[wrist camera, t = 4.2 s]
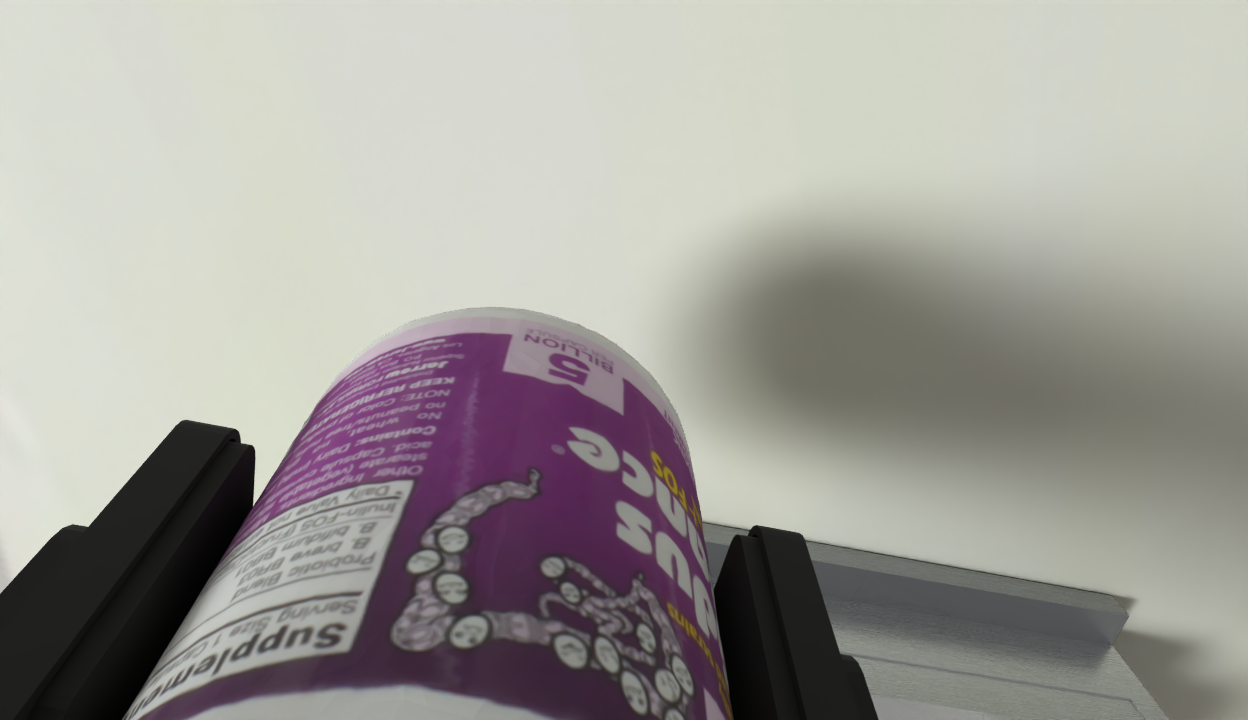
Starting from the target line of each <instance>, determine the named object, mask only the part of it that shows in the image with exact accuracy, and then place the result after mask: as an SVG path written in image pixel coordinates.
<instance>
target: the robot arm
mask: <svg viewBox="0 0 1248 720" xmlns="http://www.w3.org/2000/svg"><path fill="white" fill-rule="evenodd" d="M254 475H255V449H254V447H253V446H252V445H247V444H242V443H241V439H240V434H239V431H237V430H236V429H233V428H227V427H222V426H217V425H211V424H206V423H200V422H195V421H189V420H183V421H181V422H180V423H179V424H177V425H176V426H175V427H174V429H173V430H172V431H171V432H170V433H169V434H168V436H167V437H166V438H165V439H164V440H163V441H162V442H161V444H160V445H159V446H158V447H157V448H156V449H155V451H154V452H153V453H152V454H151V455H150V456H149V457H148V459H147V460H146V461H145V462H144V463H143V464H142V466H141V467H140V468H139V469H138V470H137V471H136V473H135V474H134V475H133V476H132V477H131V478H130V479H129V481H128V482H127V483H126V484H125V485H124V486H123V488H122V489H121V490H120V491H119V492H118V493H117V494H116V496H115V497H114V498H113V499H112V500H111V501H110V503H109V504H108V505H107V506H106V507H105V508H104V509H103V511H102V512H101V513H100V514H99V515H98V516H97V518H96V519H95V520H94V521H93V522H92V523H91V525H90V526H89V527H85V526H79V525H73V524H72V525H70V526H67V527H65V528H62V529H61V530H60V531H59V532H58V533H56V534H55V535H54V536H53V537H52V538H51V539H50V540H49V541H48V542H47V543H46V544H45V545H44V546H43V548H42V549H41V550H40V551H39V552H38V553H37V554H36V555H35V556H34V557H33V559H32V560H31V561H30V562H29V563H28V564H27V565H26V566H25V567H24V568H23V570H22V571H21V572H20V573H19V574H18V575H17V576H16V577H15V578H14V579H13V581H12V582H11V583H10V584H9V585H8V586H7V587H6V588H5V589H4V590H3V592H2V593H1V594H0V720H122V719H123V717H124V716H125V714H126V712H127V711H128V709H129V708H130V706H131V705H132V703H133V701H134V700H135V698H136V697H137V695H138V693H139V692H140V690H141V688H142V687H143V685H144V684H145V682H146V680H147V679H148V677H149V676H150V674H151V672H152V671H153V669H154V667H155V666H156V664H157V663H158V661H159V659H160V658H161V656H162V655H163V653H164V651H165V650H166V648H167V647H168V645H169V643H170V642H171V640H172V639H173V637H174V635H175V634H176V632H177V630H178V629H179V627H180V625H181V624H182V622H183V620H184V619H185V617H186V615H187V614H188V612H189V611H190V609H191V607H192V606H193V604H194V602H195V601H196V599H197V597H198V596H199V594H200V592H201V591H202V589H203V587H204V586H205V584H206V583H207V581H208V579H209V578H210V576H211V575H212V573H213V571H214V570H215V568H216V567H217V565H218V563H219V562H220V560H221V559H222V557H223V555H224V554H225V552H226V550H227V549H228V547H229V545H230V544H231V542H232V540H233V539H234V537H235V535H236V534H237V532H238V531H239V529H240V527H241V526H242V524H243V522H244V521H245V519H246V517H247V516H248V514H249V512H250V511H251V509H252V508H253V495H254ZM713 591H714V598H715V605H716V612H717V619H718V625H719V631H720V637H721V642H722V647H723V652H724V657H725V664H726V672H727V679H728V684H729V693H730V702H731V707H732V712H733V718H734V720H879V719H878V716H877V713H876V710H875V707H874V704H873V701H872V698H871V695H870V692H869V689H868V686H867V683H866V680H865V677H864V674H863V672H862V669H861V667H860V665H859V663H858V662H857V661H856V660H855V659H854V658H853V657H852V656H849V655H843V654H840V651H839V648H838V645H837V642H836V638H835V635H834V632H833V629H832V625H831V622H830V619H829V616H828V612H827V609H826V606H825V603H824V600H823V596H822V593H821V590H820V587H819V583H818V580H817V577H816V574H815V570H814V567H813V564H812V561H811V558H810V554H809V551H808V548H807V545H806V541H805V539H804V537H803V535H801V534H800V533H796V532H791V531H785V530H780V529H775V528H769V527H764V526H758V525H756V526H753V527H752V529H751V530H750V531H749V533H748V536H745V535H740V534H737V535H735V536H734V537H733V539H732V541H731V544H730V546H729V549H728V552H727V554H726V557H725V560H724V563H723V565H722V568H721V571H720V574H719V576H718V579H717V582H716V585H715V587H714V590H713Z"/></svg>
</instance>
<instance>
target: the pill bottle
mask: <svg viewBox="0 0 1248 720" xmlns="http://www.w3.org/2000/svg"><path fill="white" fill-rule="evenodd" d="M122 720H734V718H733V712H732V707H731V702H730V693H729V684H728V679H727V672H726V664H725V657H724V652H723V647H722V642H721V637H720V631H719V625H718V619H717V612H716V605H715V598H714V591H713V584H712V578H711V573H710V567H709V561H708V556H707V550H706V545H705V540H704V534H703V526H702V517H701V511H700V505H699V501H698V497H697V491H696V484H695V478H694V473H693V468H692V463H691V457H690V452H689V448H688V445H687V441H686V438H685V434H684V430H683V428H682V425H681V422H680V420H679V417H678V414H677V413H676V411H675V409H674V408H673V406H672V404H671V402H670V401H669V399H668V397H667V396H666V394H665V393H664V391H663V390H662V388H661V387H660V385H659V384H658V383H657V381H656V380H655V379H654V378H653V376H652V375H651V374H650V372H648V371H647V370H646V369H645V368H644V367H643V366H642V365H641V364H640V363H639V362H638V361H636V360H635V359H634V358H633V357H632V356H631V355H629V354H628V353H627V352H625V351H624V350H623V349H622V348H620V347H619V346H618V345H617V344H615V343H614V342H612V341H610V340H609V339H607V338H605V337H604V336H602V335H600V334H599V333H597V332H595V331H592V330H589V329H587V328H585V327H583V326H581V325H580V324H576V323H572V322H569V321H566V320H563V319H561V318H558V317H554V316H551V315H547V314H544V313H539V312H535V311H530V310H525V309H515V308H504V307H484V308H467V309H461V310H455V311H449V312H443V313H440V314H436V315H433V316H429V317H425V318H422V319H418V320H414V321H411V322H409V323H407V324H405V325H403V326H401V327H399V328H398V329H396V330H394V331H393V332H391V333H388V334H386V335H385V336H383V337H381V338H380V339H378V340H376V341H375V342H373V343H372V344H371V345H369V346H368V347H367V348H366V349H364V350H363V351H362V352H361V353H360V354H359V355H357V356H356V357H355V358H354V359H353V360H352V361H351V362H349V363H348V364H347V365H346V367H345V368H344V369H343V370H342V371H341V372H340V373H339V374H338V375H337V377H336V378H335V379H334V381H333V382H332V384H331V385H330V386H329V388H328V389H327V390H326V392H325V393H324V394H323V396H322V397H321V399H320V400H319V401H318V403H317V404H316V406H315V408H314V410H313V411H312V413H311V415H310V416H309V418H308V419H307V421H306V422H305V423H304V425H303V427H302V429H301V431H300V433H299V434H298V436H297V437H296V438H295V440H294V441H293V442H292V444H291V446H290V448H289V450H288V451H287V453H286V455H285V457H284V458H283V460H282V462H281V464H280V465H279V467H278V469H277V470H276V472H275V473H274V475H273V476H272V478H271V479H270V481H269V483H268V484H267V486H266V488H265V489H264V491H263V493H262V494H261V496H260V497H259V499H258V500H257V502H256V503H255V505H254V506H253V508H252V509H251V511H250V512H249V514H248V516H247V517H246V519H245V521H244V522H243V524H242V526H241V527H240V529H239V531H238V532H237V534H236V535H235V537H234V539H233V540H232V542H231V544H230V545H229V547H228V549H227V550H226V552H225V554H224V555H223V557H222V559H221V560H220V562H219V563H218V565H217V567H216V568H215V570H214V571H213V573H212V575H211V576H210V578H209V579H208V581H207V583H206V584H205V586H204V587H203V589H202V591H201V592H200V594H199V596H198V597H197V599H196V601H195V602H194V604H193V606H192V607H191V609H190V611H189V612H188V614H187V615H186V617H185V619H184V620H183V622H182V624H181V625H180V627H179V629H178V630H177V632H176V634H175V635H174V637H173V639H172V640H171V642H170V643H169V645H168V647H167V648H166V650H165V651H164V653H163V655H162V656H161V658H160V659H159V661H158V663H157V664H156V666H155V667H154V669H153V671H152V672H151V674H150V676H149V677H148V679H147V680H146V682H145V684H144V685H143V687H142V688H141V690H140V692H139V693H138V695H137V697H136V698H135V700H134V701H133V703H132V705H131V706H130V708H129V709H128V711H127V712H126V714H125V716H124V717H123V719H122Z"/></svg>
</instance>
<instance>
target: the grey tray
mask: <svg viewBox="0 0 1248 720" xmlns="http://www.w3.org/2000/svg"><path fill="white" fill-rule="evenodd" d="M702 526H703V534H704V540H705V545H706V550H707V556H708V561H709V567H710V573H711V578H712V584H713V590H714V587H715V585H716V582H717V579H718V576H719V574H720V571H721V568H722V565H723V563H724V560H725V557H726V554H727V552H728V549H729V546H730V544H731V541H732V539H733V537H734V536H735V535H737V534H740V535H745V536H748V533H749V531H747V530H741V529H735V528H730V527H724V526H719V525H713V524H707V523H702ZM806 545H807V548H808V551H809V554H810V558H811V561H812V564H813V567H814V570H815V574H816V577H817V580H818V583H819V587H820V590H821V593H822V596H823V600H824V603H825V606H826V609H827V612H828V616H829V619H830V622H831V625H832V629H833V632H834V635H835V638H836V642H837V645H838V648H839V651H840V654H843V655H849V656H852V657H853V658H854V659H855V660H856V661H857V662H858V663H859V665H860V667H861V669H862V672H863V674H864V677H865V680H866V683H867V686H868V689H869V692H870V695H871V698H872V701H873V704H874V707H875V710H876V713H877V716H878V719H879V720H1169V718H1168V717H1167V716H1166V714H1165V713H1164V712H1163V711H1162V709H1161V708H1160V707H1159V705H1158V704H1157V703H1156V701H1155V700H1154V699H1153V698H1152V696H1151V695H1150V694H1149V692H1148V691H1147V690H1146V688H1145V687H1144V686H1143V685H1142V683H1141V682H1140V681H1139V679H1138V678H1137V677H1136V676H1135V674H1134V673H1133V672H1132V670H1131V669H1130V668H1129V666H1128V665H1127V664H1126V663H1125V661H1124V660H1123V659H1122V657H1121V656H1120V655H1119V653H1118V652H1117V651H1116V650H1115V648H1114V647H1113V646H1112V644H1113V643H1114V641H1115V639H1116V638H1117V636H1118V634H1119V633H1120V631H1121V629H1122V627H1123V626H1124V624H1125V622H1126V621H1127V619H1128V617H1129V615H1128V614H1127V613H1126V612H1125V610H1124V609H1123V608H1122V607H1121V606H1120V604H1119V603H1118V602H1117V601H1116V600H1115V598H1114V597H1113V596H1110V595H1105V594H1099V593H1093V592H1088V591H1082V590H1077V589H1071V588H1065V587H1060V586H1054V585H1049V584H1043V583H1037V582H1032V581H1026V580H1021V579H1015V578H1010V577H1004V576H998V575H993V574H987V573H982V572H976V571H970V570H965V569H959V568H954V567H948V566H942V565H937V564H931V563H926V562H920V561H914V560H909V559H903V558H898V557H892V556H886V555H881V554H875V553H870V552H864V551H858V550H853V549H847V548H842V547H836V546H831V545H825V544H819V543H814V542H808V541H806Z"/></svg>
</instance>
